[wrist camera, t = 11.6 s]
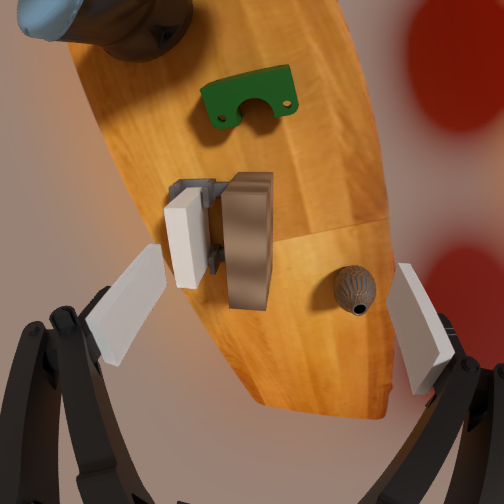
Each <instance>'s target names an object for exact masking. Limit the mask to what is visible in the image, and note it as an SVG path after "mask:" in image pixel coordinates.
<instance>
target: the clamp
mask: <svg viewBox="0 0 504 504" xmlns="http://www.w3.org/2000/svg"><path fill="white" fill-rule="evenodd" d="M200 92H201V95H202V98H203V101H204V104H205V107H206V110H207V113H208V115H209V118H210V121H211V124H212V125H213V126H214V127H215V128H217V129H226V128H230V127H234V126H239V124H240V122H241V119H242V117H243V115H242V114H241V111H240V103H242V102H243V101H244V100H247V99H250V98H259V99H262V100H264V101H266V102H267V103H269V104H270V106H271V107H272V109H273V112H274V118H276V117H281V116H287V115H291V114H294V113H295V112H296V111H297V109H298V106H299V104H298V99H297V95H296V91H295V86H294V82H293V78H292V74H291V70H290V67H289V65H279V66H274V67H269V68H264V69H259V70H255V71H251V72H246V73H242V74H238V75H234V76H230V77H227V78H223V79H219V80H216V81H213V82H210V83H208V84H206V85H205V86H204V87H202V88H201V89H200ZM284 101H290V102H291V104H290V105H289V106H284V105H283V102H284ZM219 115H224V116H225V117H226V120H221V119H220V118H219Z"/></svg>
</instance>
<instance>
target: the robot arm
mask: <svg viewBox="0 0 504 504" xmlns="http://www.w3.org/2000/svg"><path fill="white" fill-rule="evenodd" d="M192 14H193V4H192V0H18V4H17V21H18V25H19V27H20V29H21V31H22V32H23V33H24V34H25V35H26V36H29V37H31V38H38V39H44V40H46V41H49V42H51V41H62V42H75V43H85V44H94V45H100V46H101V47H102V48H103V49H104V50H105V51H106V52H107V53H108V54H109V55H111V56H112V57H114V58H116V59H119V60H122V61H128V62H144V61H149V60H152V59H155V58H157V57H159V56H161V55H163V54H164V53H166V52H167V51H169V50H170V49H171V48H172V47H174V46H175V45H176V44H177V43H178V42H179V41H180V39H181V38H182V37H183V35H184V34H185V32H186V31H187V29H188V27H189V25H190V22H191V19H192ZM166 286H167V281H166V276H165V269H164V263H163V257H162V250H161V245H159V244H148V245H147V246H146V247H145V249H144V250H143V251H142V252H141V253H140V254H139V255H138V257H136V259H135V260H134V261H133V262H132V263H131V264H130V265H129V267H128V268H127V269H126V270H125V271H124V272H123V274H122V275H121V276H120V277H119V278H118V280H117V281H116V282H115V283H114V284H113V285H112V286H106V287H105V288H103V289H102V290H100V291H99V292H98V293H97V294H96V295H95V297H94V299H92V300H91V301H90V304H88V305H87V306H86V307H85V309H84V310H83V311H82V312H81V313H80V315H79V316H78V317H77V314H76V312H75V310H74V308H73V307H71V306H62V307H59V308H57V309H56V310H54V311H53V312H52V313H51V315H50V318H49V320H50V322H51V324H52V326H53V328H54V329H51V330H50V329H49V330H48V329H46V328H45V326H44V324H43V323H42V322H40V321H35V322H31V323H29V324H28V325H27V326H26V327H25V328H24V330H23V332H22V335H21V338H20V340H19V343H18V347H17V350H16V353H15V356H14V360H13V363H12V366H11V370H10V374H9V378H8V382H7V386H6V390H5V394H4V399H3V403H2V408H1V414H0V504H60V501H59V478H58V435H59V416H60V404H61V394H62V396H63V402H64V408H65V414H66V419H67V424H68V428H69V433H70V437H71V442H72V445H73V450H74V453H75V457H76V461H77V464H78V467H79V475H78V476H77V477H76V481H77V486H78V489H79V492H80V495H81V498H82V501H83V503H84V504H155V503H154V501H153V500H152V498H151V496H150V494H149V493H148V492H147V490H146V489H145V487H144V486H143V484H142V482H141V480H140V478H139V476H138V474H137V471H136V469H135V467H134V464H133V462H132V460H131V458H130V455H129V453H128V450H127V448H126V445H125V442H124V440H123V437H122V435H121V432H120V429H119V426H118V424H117V421H116V418H115V415H114V412H113V409H112V406H111V403H110V399H109V396H108V393H107V390H106V386H105V383H104V379H103V375H102V372H101V368H100V364H99V362H98V358H99V357H100V355H102V357H103V359H104V361H105V363H108V364H112V365H115V366H119V365H120V363H121V361H122V359H123V358H124V356H125V354H126V352H127V351H128V349H129V347H130V345H131V344H132V342H133V340H134V338H135V337H136V335H137V333H138V332H139V330H140V328H141V327H142V325H143V323H144V322H145V320H146V318H147V317H148V315H149V313H150V312H151V310H152V309H153V307H154V305H155V304H156V302H157V300H158V299H159V297H160V296H161V294H162V292H163V290H164V289H165V288H166ZM386 306H387V308H388V311H389V314H390V317H391V320H392V323H393V326H394V329H395V333H396V336H397V339H398V342H399V345H400V349H401V352H402V355H403V359H404V362H405V366H406V370H407V373H408V377H409V381H410V385H411V389H412V393H413V395H421V394H428V392H429V391H430V390H431V388H432V387H434V390H435V394H434V395H433V396H432V398H431V399H430V400H429V401H428V403H427V404H426V405H425V406H426V409H425V411H424V412H423V414H422V416H421V418H420V419H419V421H418V423H417V424H416V426H415V427H414V429H413V431H412V432H411V434H410V436H409V437H408V438H407V440H406V442H405V443H404V445H403V446H402V448H401V449H400V450H399V452H398V453H397V455H396V456H395V457H394V459H393V460H392V462H391V463H390V464H389V466H388V467H387V468H386V470H385V471H384V472H383V474H382V475H381V476H380V478H379V479H378V480H377V481H376V483H375V484H374V485H373V486H372V488H371V489H370V490H369V491H368V492H367V494H366V495H365V496H364V497H363V498H362V499H361V500H360V501H359V503H358V504H419V503H420V501H421V500H422V498H423V497H424V495H425V494H426V492H427V491H428V489H429V487H430V486H431V484H432V482H433V481H434V479H435V477H436V476H437V474H438V472H439V470H440V468H441V467H442V465H443V463H444V461H445V459H446V457H447V455H448V453H449V451H450V449H451V447H452V445H453V443H454V441H455V439H456V437H457V434H458V432H459V430H460V428H461V425H462V423H463V421H464V424H463V429H462V435H461V440H460V446H459V450H458V454H457V459H456V463H455V467H454V471H453V475H452V478H451V482H450V486H449V489H448V492H447V495H446V498H445V501H444V504H504V363H498V364H497V365H496V366H495V367H494V369H493V370H489V369H484V368H481V367H480V364H479V363H478V362H477V360H475V359H474V358H473V357H470V356H466V353H465V351H464V349H463V347H462V345H461V343H460V340H459V339H458V336H457V335H456V332H455V330H454V329H453V326H452V324H451V322H450V320H449V319H448V318H447V317H446V316H445V315H443V313H436V311H435V309H434V307H433V305H432V303H431V301H430V299H429V297H428V295H427V294H426V292H425V290H424V288H423V286H422V284H421V282H420V281H419V279H418V277H417V275H416V274H415V272H414V270H413V268H412V267H411V265H410V264H404V263H398V264H397V268H396V271H395V275H394V278H393V281H392V285H391V288H390V291H389V294H388V297H387V300H386ZM177 504H188V503H185V502H181V501H178V502H177Z"/></svg>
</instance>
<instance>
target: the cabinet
mask: <svg viewBox="0 0 504 504" xmlns="http://www.w3.org/2000/svg"><path fill="white" fill-rule="evenodd" d="M191 187H202V193H203V205H204V207H208V208H209V207H210V206H211V205H212V203H213V202H214V201H215V199H216V198H217V197H221V202H222V218H223V233H224V247H221V246H220V244H211V251H212V252H211V254H210V256H209V266H210V274H216V272H217V270H218V267H219V265H220V263H221V261H222V262H226V273H227V286H228V298H229V308H232V309H245V310H259V311H266V307H267V300H268V294H269V287H270V281H271V274H272V257H273V172H238V173H237V175H236V176H235V177H234V179H233V180H232V181H231V182H216V179H179V180H178V181H177V182H175V183H174V184H173V185H171V186H170V187H169V196H170V202H171V201H172V200H174V199H175V198H176V197H177V196H178V195H179V194H180V193H182V192H183V191H184V190H185V189H186V188H191Z"/></svg>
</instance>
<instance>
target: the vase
mask: <svg viewBox="0 0 504 504" xmlns="http://www.w3.org/2000/svg"><path fill="white" fill-rule="evenodd" d="M333 288H334V296H335V299H336V301H337V303H338V304H339V306H340V307H341V308H342V309H344V310H345V311H347V312H350V313H353V314H354V315H356V316H361V315H363V314H365V313H366V312H367V310H368V308H369V307H370V306H371V305H372V303H373V302H374V299H375V296H376V284H375V281H374V278H373V277H372V275H371V274H370V272H369V271H368V270H366V269H365V268H363V267H361V266H356V265H353V266H348V267H346V268H344V269H342V270H341V271H340V272H339V273H338V275H337V276H336V278H335V281H334V287H333Z"/></svg>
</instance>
